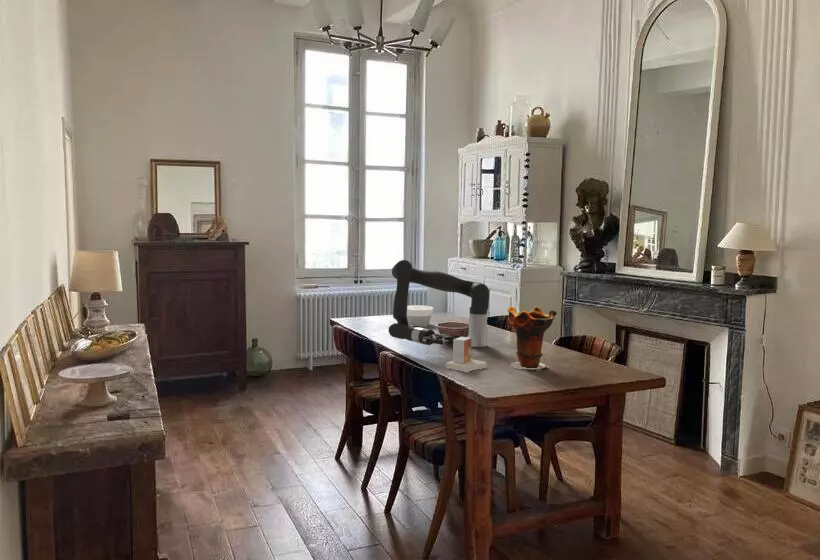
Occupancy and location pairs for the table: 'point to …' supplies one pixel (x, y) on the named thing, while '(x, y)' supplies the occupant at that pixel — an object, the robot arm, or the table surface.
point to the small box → (462, 349)
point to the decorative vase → (530, 335)
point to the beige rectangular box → (467, 365)
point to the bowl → (419, 315)
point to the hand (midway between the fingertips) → (448, 341)
